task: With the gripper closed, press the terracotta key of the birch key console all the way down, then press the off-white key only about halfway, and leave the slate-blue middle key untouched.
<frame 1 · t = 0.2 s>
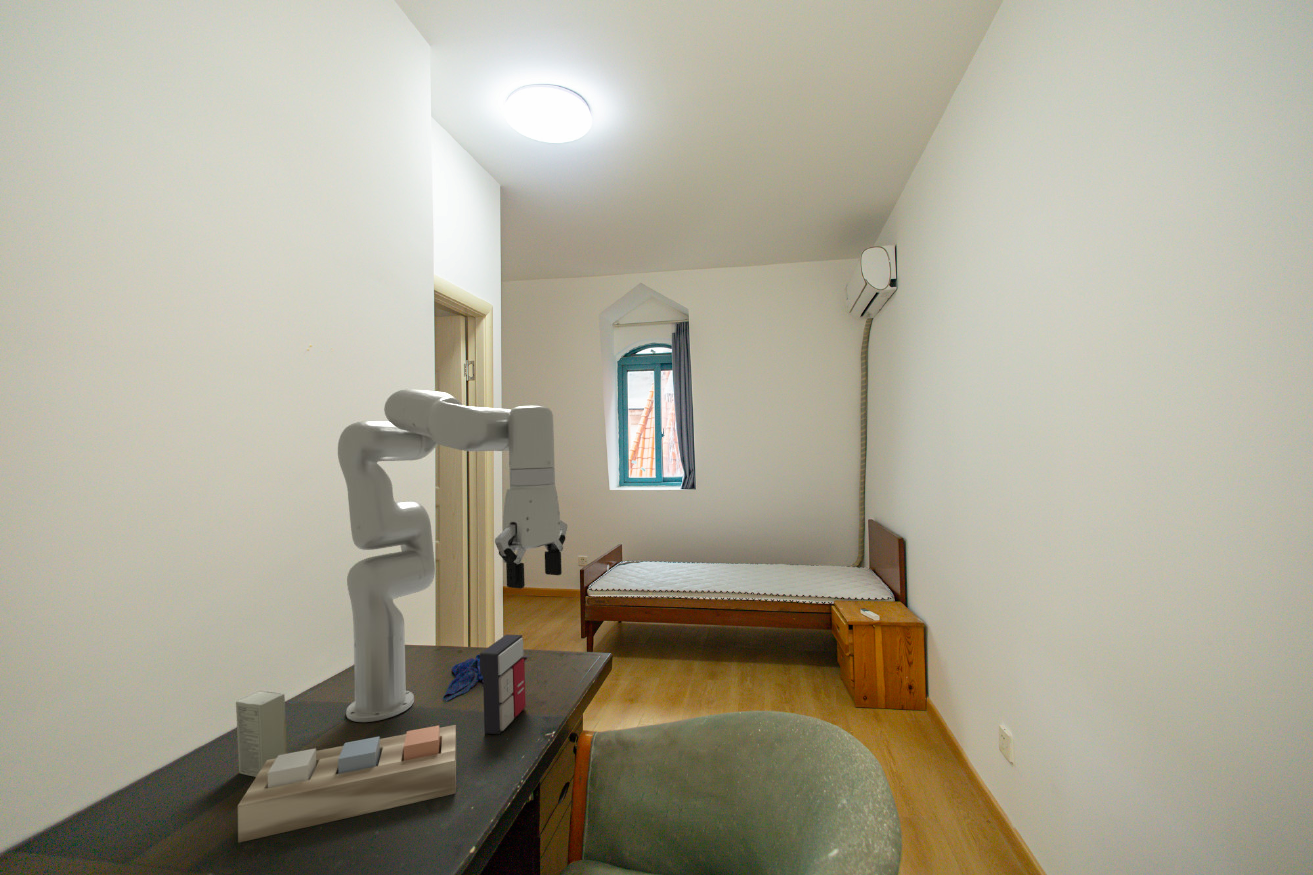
hand: (535, 580, 92), 31 cm above the table, tool pointing down, fingers open, 9 cm apart
offwhite key: (292, 770, 82), point 5 cm above the table, slide at 0.0 cm
terracotta key: (422, 744, 88), point 5 cm above the table, slide at 0.0 cm
key console: (360, 792, 85), on the table
calculator: (505, 721, 107), on the table
slate key: (359, 756, 85), point 5 cm above the table, slide at 0.0 cm
skincare box: (262, 770, 93), on the table
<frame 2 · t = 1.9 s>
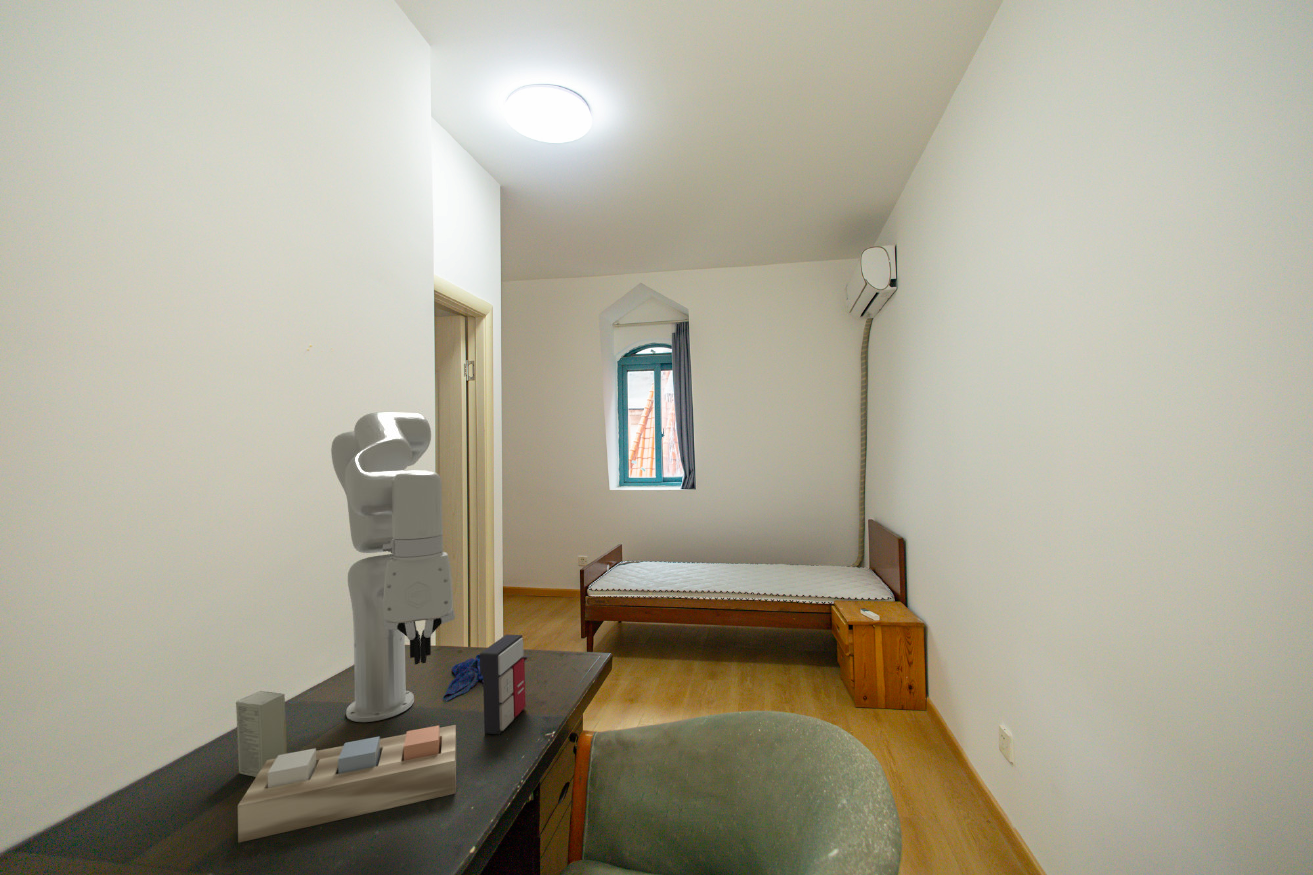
hand: (420, 660, 89), 19 cm above the table, tool pointing down, fingers closed
nothing on the table moved.
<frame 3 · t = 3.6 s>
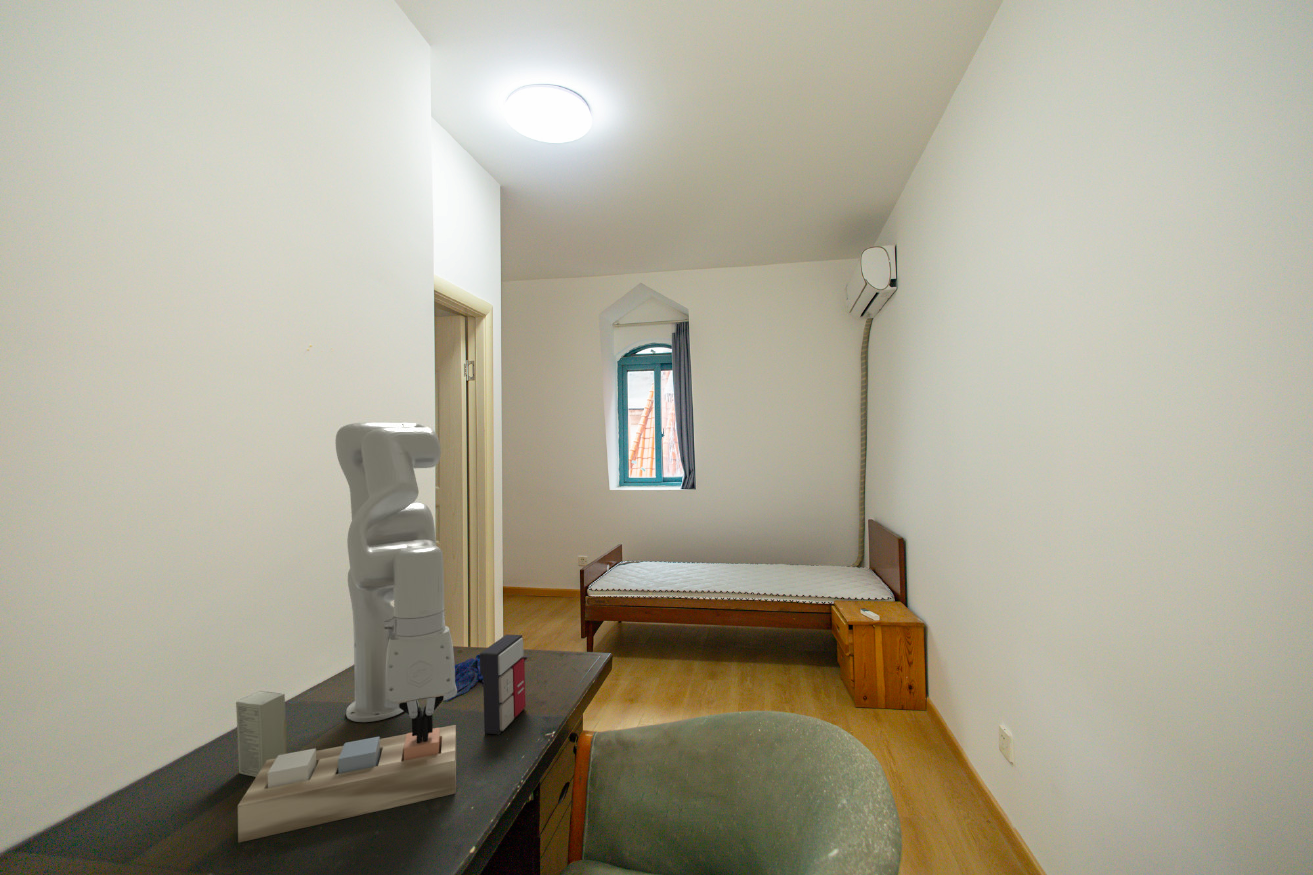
hand: (422, 738, 88), 7 cm above the table, tool pointing down, fingers closed
terracotta key: (422, 746, 88), point 5 cm above the table, slide at 0.4 cm, touching gripper
everything else where it was.
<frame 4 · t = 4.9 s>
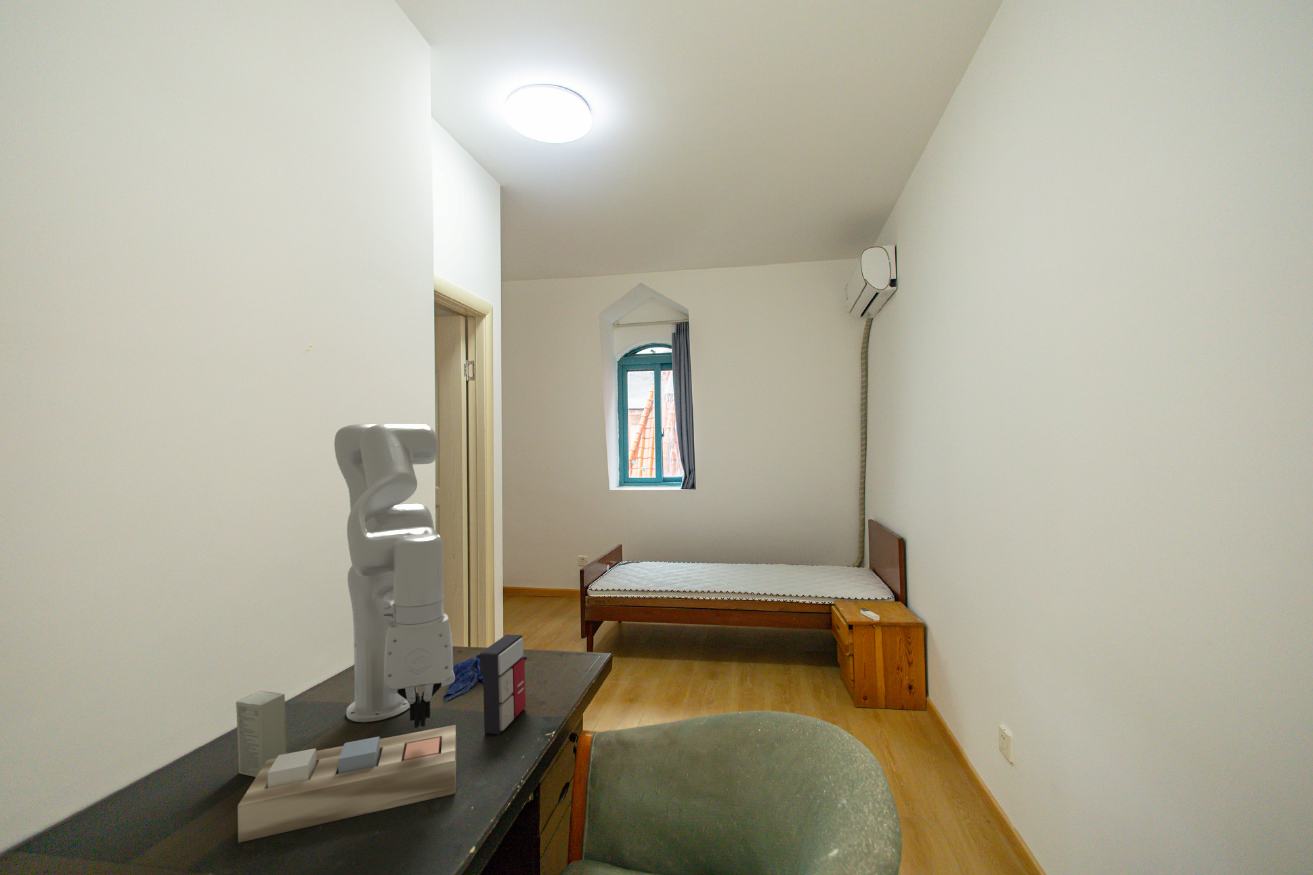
hand: (420, 722, 89), 9 cm above the table, tool pointing down, fingers closed
terracotta key: (422, 757, 88), point 3 cm above the table, slide at 2.0 cm
everything else where it was.
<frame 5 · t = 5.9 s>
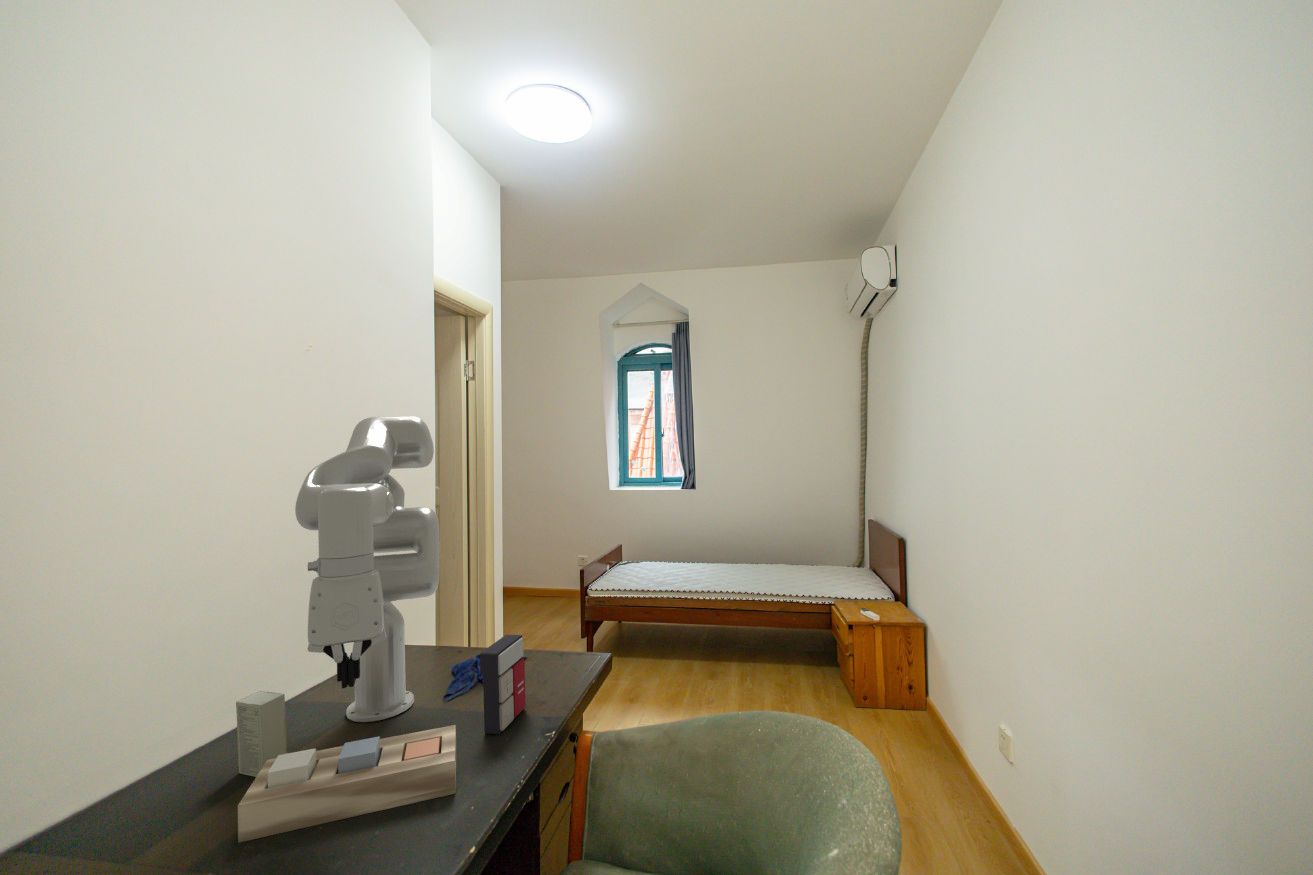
hand: (348, 684, 85), 17 cm above the table, tool pointing down, fingers closed
nothing on the table moved.
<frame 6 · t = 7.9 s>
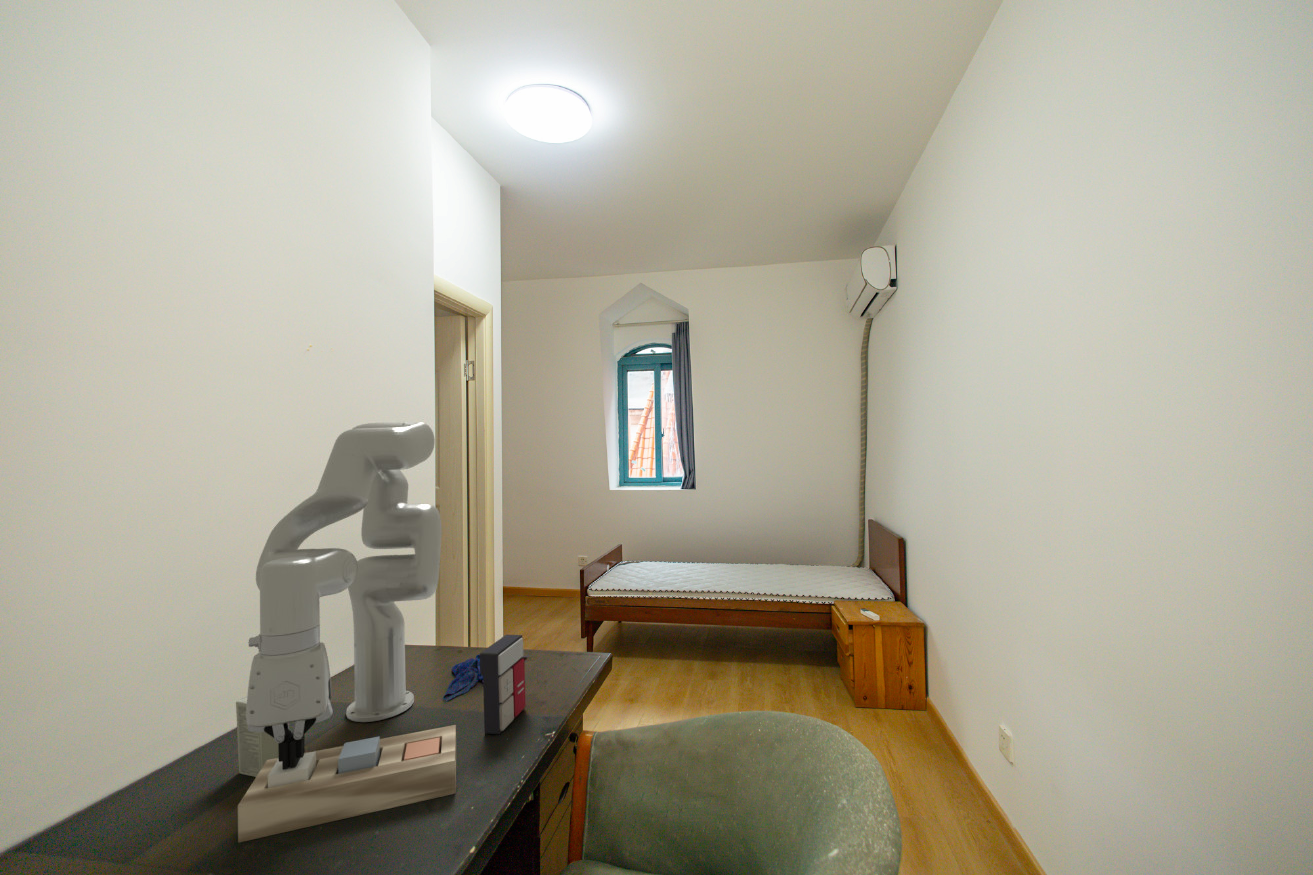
hand: (291, 763, 82), 7 cm above the table, tool pointing down, fingers closed
offwhite key: (292, 773, 82), point 5 cm above the table, slide at 0.5 cm, touching gripper
everything else where it was.
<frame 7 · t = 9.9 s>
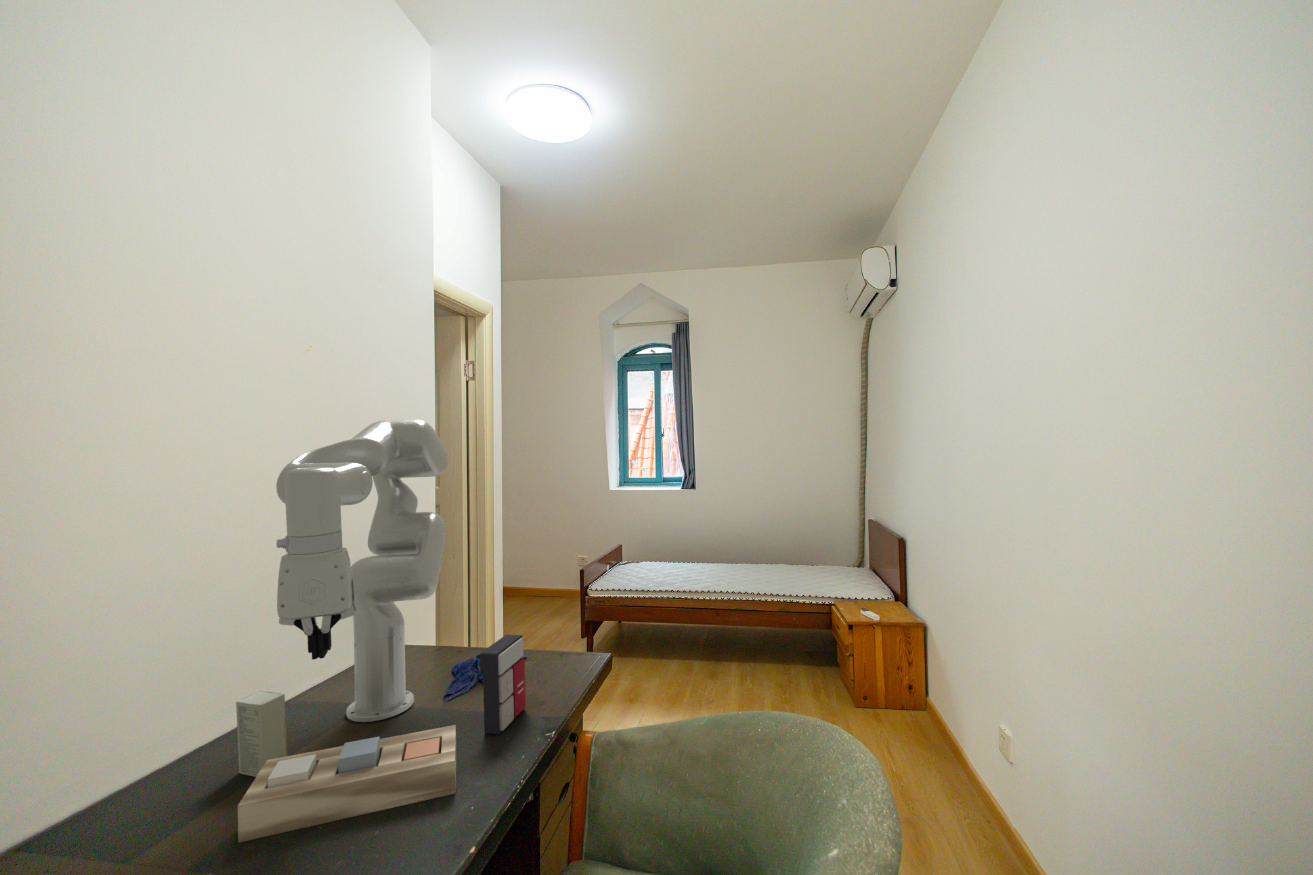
hand: (320, 655, 89), 20 cm above the table, tool pointing down, fingers closed
offwhite key: (292, 776, 82), point 5 cm above the table, slide at 0.9 cm
everything else where it was.
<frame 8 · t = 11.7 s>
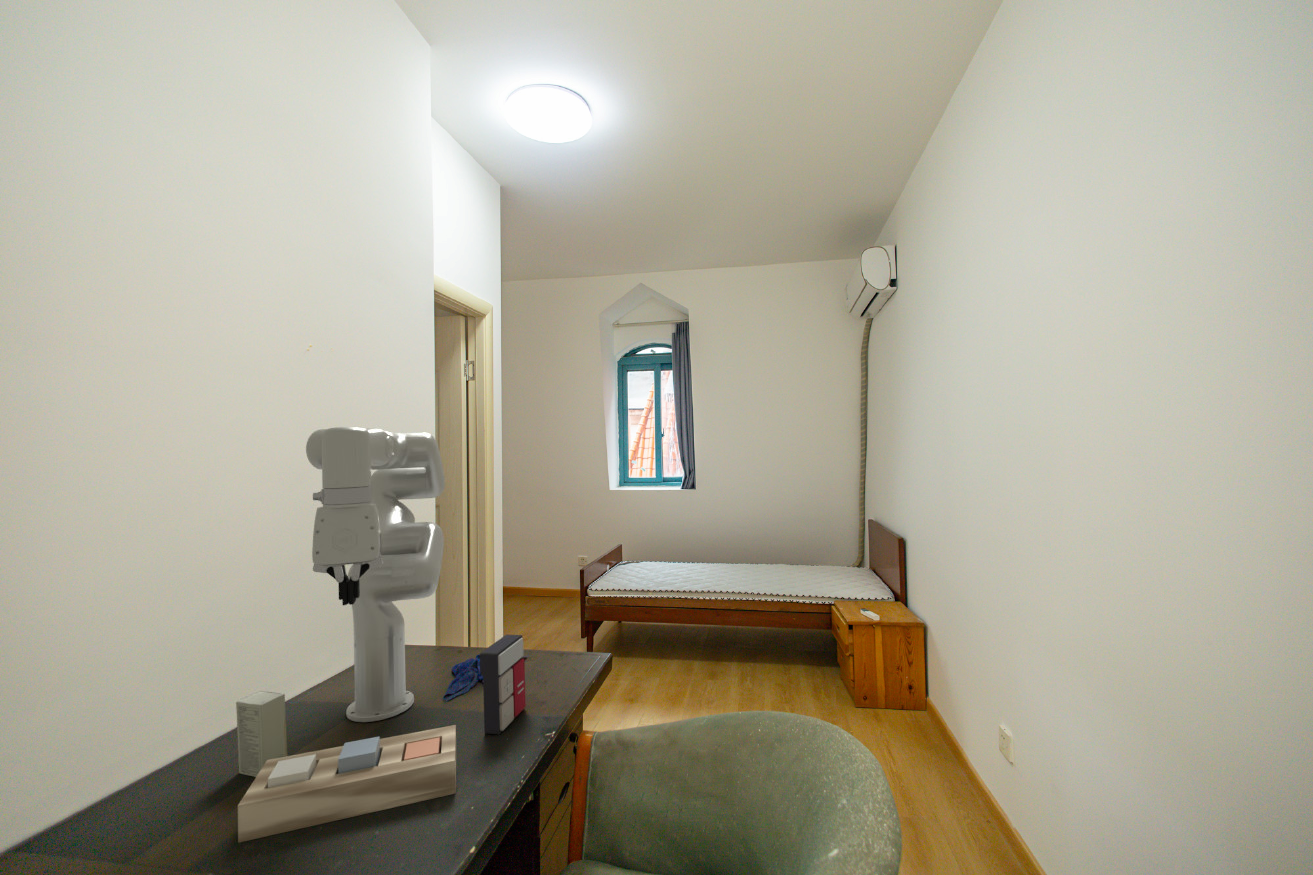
hand: (349, 602, 95), 27 cm above the table, tool pointing down, fingers closed
nothing on the table moved.
at the end: terracotta key slide at 2.0 cm; offwhite key slide at 0.9 cm; slate key slide at 0.0 cm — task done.
